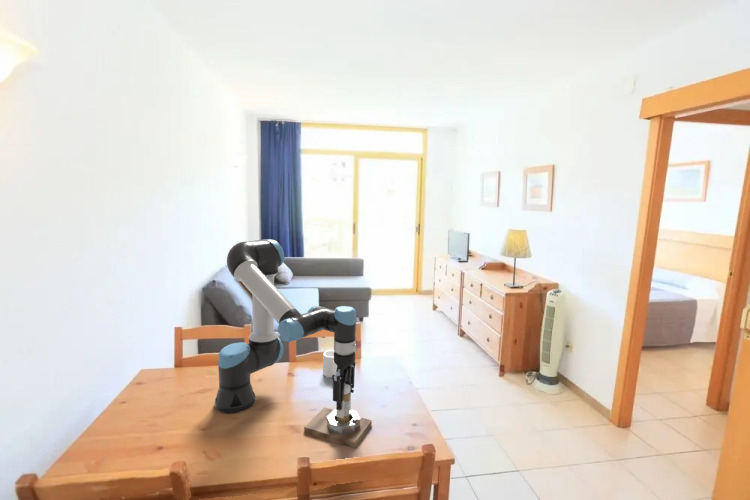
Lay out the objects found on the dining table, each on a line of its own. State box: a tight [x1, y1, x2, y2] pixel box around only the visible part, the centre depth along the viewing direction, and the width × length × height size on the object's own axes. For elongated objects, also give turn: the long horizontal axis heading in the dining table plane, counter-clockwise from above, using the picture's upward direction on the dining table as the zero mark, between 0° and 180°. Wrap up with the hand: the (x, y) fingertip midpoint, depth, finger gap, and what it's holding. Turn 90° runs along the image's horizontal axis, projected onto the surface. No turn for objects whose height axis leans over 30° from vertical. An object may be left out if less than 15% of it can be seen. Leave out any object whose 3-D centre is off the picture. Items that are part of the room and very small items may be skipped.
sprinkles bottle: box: [337, 384, 350, 423], centre depth 137 cm, size 5×5×13 cm
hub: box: [327, 409, 361, 435], centre depth 137 cm, size 11×11×4 cm
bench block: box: [303, 407, 373, 449], centre depth 139 cm, size 20×14×2 cm
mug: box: [322, 349, 337, 379], centre depth 178 cm, size 12×9×10 cm
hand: (343, 413), depth 137 cm, fingers closed on sprinkles bottle, 4 cm apart
